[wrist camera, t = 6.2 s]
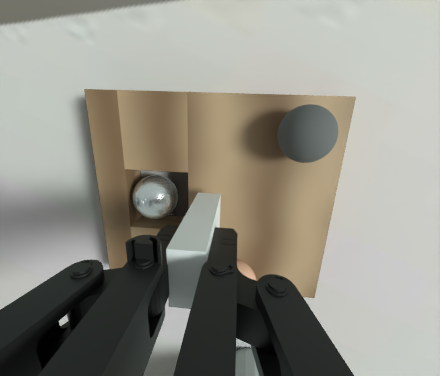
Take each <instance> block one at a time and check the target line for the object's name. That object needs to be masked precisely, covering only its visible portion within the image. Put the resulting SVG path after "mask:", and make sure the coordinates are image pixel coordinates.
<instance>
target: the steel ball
mask: <svg viewBox="0 0 440 376" xmlns="http://www.w3.org/2000/svg"><path fill="white" fill-rule="evenodd" d="M132 199H133V204H134V206H135V208H136V210H137V211H138V212H139V213H140V214H141V215H143V216H145V217H147V218H151V219H159V218H163V217H166V216H167V215H169V214H170V213H171V212H172V211H173V210H174V209H175V207H176V205H177V202H178V191H177V188H176V186H175V185H174V183H173V182H172V181H171V180H169V179H168V178H166V177H164V176H161V175H151V176H147V177H145V178H143V179H142V180H140V181H139V182H138V183H137V185H136V186H135V188H134V191H133V196H132Z"/></svg>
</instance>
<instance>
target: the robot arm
mask: <svg viewBox="0 0 440 376" xmlns="http://www.w3.org/2000/svg"><path fill="white" fill-rule="evenodd" d="M220 200H221V194H214V193H198V194H197V195H196V197H195V199H194V201H193V202H192V204H191V206H190V208H189V209H188V211H187V213H186V215H185V217H184V218H183V220H182V222H181V224H180V225H166V226H165V227H163V228H162V229H160V231H159V232H158V234H157V235H156V236H154V235H139V236H135V237H133V238H131V239H129V240H128V241H126V242H125V244H126V253H127V262H126V264H125V265H124V266H123V267H121V268H116V269H108V270H103V265H102V263H101V262H99V261H98V260H84V261H80V262H77V263H74V264H72V265H71V266H69V267H67V268H65V269H64V270H62V271H61V272H59V273H57V274H56V275H54V276H53V277H51V278H50V279H48V280H47V281H45V282H43V283H42V284H40V285H39V286H37V287H36V288H34V289H32V290H31V291H29V292H28V293H26V294H25V295H23V296H21V297H20V298H18V299H17V300H15V301H14V302H12V303H11V304H9V305H7V306H6V307H4V308H3V309H1V310H0V376H143V374H144V371H145V369H146V366H147V363H148V361H149V358H150V355H151V353H152V350H153V347H154V345H155V342H156V339H157V337H158V334H159V331H160V329H161V326H162V323H163V321H164V317H165V304H166V301H167V299H168V298H169V307H178V308H188V309H191V311H190V314H189V318H188V322H187V326H186V330H185V334H184V338H183V341H182V345H181V349H180V353H179V357H178V361H177V364H176V368H175V372H174V376H235V366H236V338H237V339H239V340H242V341H244V342H246V343H248V344H250V345H251V349H252V352H253V356H254V359H255V363H256V366H257V370H258V373H259V376H354V375H353V373H352V372H351V370H350V369H349V367H348V366H347V364H346V363H345V361H344V360H343V358H342V356H341V355H340V353H339V352H338V350H337V349H336V347H335V346H334V344H333V343H332V341H331V340H330V338H329V337H328V335H327V334H326V332H325V330H324V329H323V327H322V326H321V324H320V323H319V321H318V320H317V318H316V317H315V315H314V314H313V312H312V311H311V309H310V307H309V306H308V304H307V303H306V301H305V300H304V298H303V297H302V295H301V294H300V292H299V291H298V289H297V288H296V286H295V285H294V284H293V283H292V282H291V281H290V280H288V279H287V278H285V277H283V276H280V275H276V274H268V275H264V276H262V277H261V278H259V280H258V281H256V280H253V279H251V278H248V277H246V276H245V275H243V274H242V273H241V272H240V271H239V269H238V267H237V232H236V231H235V230H234V229H232V228H219V227H220ZM66 314H67V316H68V320H69V321H68V322H67V323H65V324H64V325H62V326H59V322H58V321H59V320H60V319H61V318H63V317H64V316H65V315H66Z"/></svg>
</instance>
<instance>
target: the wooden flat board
mask: <svg viewBox="0 0 440 376" xmlns="http://www.w3.org/2000/svg"><path fill="white" fill-rule="evenodd" d="M84 91H85V98H86V105H87V112H88V119H89V126H90V133H91V140H92V147H93V154H94V161H95V168H96V175H97V182H98V189H99V196H100V204H101V211H102V218H103V225H104V232H105V239H106V246H107V253H108V260H109V267H110V269H116V268H121V267H123V266H124V265H125V264H126V262H127V253H126V244H125V242H126V241H128V240H129V239H131V238H133V237H135V236H139V235H154V236H156V235H157V234H158V232H159V231H160V229H162V228H163V227H165V226H166V225H180V224H181V222H182V220H183V218H184V217H185V216H171V215H167V216H166V217H163V218H159V219H151V218H147V217H145V216H143V215H141V214H140V213H139V212H138V211H137V210H136V208H135V206H134V204H133V199H132V196H133V191H134V188H135V186H136V185H137V183H138V182H139V181H140V180H141V171H140V170H150V171H168V172H187V173H188V209H189V208H190V206H191V204H192V202H193V201H194V199H195V197H196V195H197V194H198V193H214V194H221V200H220V227H219V228H232V229H234V230H235V231H236V232H237V260H241V261H243V262H245V263H247V264H248V265H249V266H250V267H251V268H252V270H253V271H254V273H255V276H256V281H258V280H259V278H261V277H262V276H264V275H268V274H276V275H280V276H283V277H285V278H287V279H288V280H290V281H291V282H292V283H293V284H294V285H295V286H296V288H297V289H298V291H299V292H300V294H301V295H302V297H309V298H314V297H315V292H316V287H317V282H318V277H319V273H320V268H321V263H322V258H323V253H324V248H325V244H326V239H327V234H328V229H329V224H330V219H331V215H332V210H333V205H334V200H335V195H336V190H337V186H338V181H339V176H340V171H341V166H342V161H343V157H344V152H345V147H346V142H347V137H348V132H349V128H350V123H351V118H352V113H353V108H354V103H355V99H356V97H346V96H310V95H274V94H238V93H202V92H166V91H130V90H94V89H84ZM306 104H314V105H319V106H322V107H324V108H326V109H327V110H329V111H330V112H331V113H332V114H333V116H334V117H335V119H336V121H337V124H338V138H337V141H336V144H335V146H334V147H333V149H332V150H331V151H330V152H329V153H328V154H327V155H326V156H325V157H323V158H321V159H319V160H317V161H314V162H310V163H301V162H296V161H294V160H291V159H290V158H288V157H287V156H286V155H285V154H284V153H283V152H282V151H281V149H280V147H279V144H278V140H277V132H278V128H279V125H280V123H281V121H282V119H283V118H284V117H285V115H286V114H287V113H289V112H290V111H291V110H293V109H294V108H296V107H299V106H302V105H306Z"/></svg>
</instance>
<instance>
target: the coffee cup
mask: <svg viewBox="0 0 440 376" xmlns="http://www.w3.org/2000/svg"><path fill="white" fill-rule="evenodd" d="M235 376H259V373H258V370H257V366H256V363H255V359H254V356H253V352H252V349H251V348H244V349H239V350H237V351H236V366H235Z"/></svg>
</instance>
